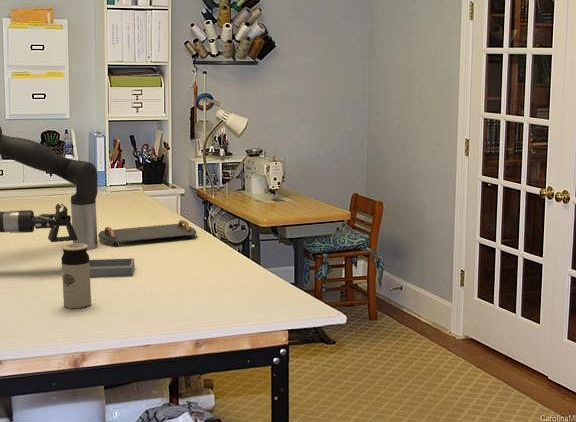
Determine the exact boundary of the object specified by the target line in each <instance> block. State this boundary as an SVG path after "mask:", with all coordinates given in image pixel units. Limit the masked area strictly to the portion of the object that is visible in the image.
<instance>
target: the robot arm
mask: <svg viewBox="0 0 576 422" xmlns="http://www.w3.org/2000/svg"><path fill="white" fill-rule="evenodd" d="M0 156H1V157H2V156H3V157H5V158H8V159H10V160H12V161H14V162H17V163H19V164H22V165H24V166H26V167H30V168H32V169H35V170H38V171H41V172H45V173H50V174H53V175H54V176H57V177H59V178H61V179H64V180H65V181H67V182H68V183H70V184H73V185H76V186H75V187H76V189H75V193H74V194H72V195H71V196H70V210H71V211H70V212H71V215H70V214H69V215H68V217H69V220H70V222H71V224H72V227H73V229H74V231H75V234H76V236H77V238H78V240H74V241H72V244H86V245H87V246H88V247H87V250H93V249H96V248H98V245H99V244H98V222H97V203H96V202H97V201H96V199H97V197H98V196H97V195H98V184H99V183H98V179H99V178H98V170H97V167H96V166H95V164H93V163H92V162H90V161H84V160H78V159H77V160H76V159H72V158H68V157H65V156H62V155H60V154H58V153H57V152H55V151H54V150H53V149H51V148H50V147H48V146H46V145H45V144H42V143H40V142H37V141H34V140H31V139H28V138H23V137H15V136H8V135H5V134H3V130H2V127H1V126H0ZM55 214H56V213H41V214H39V215H38V216H37V215H36V216H35V213H34V211H33V210H25V209H24V210H23V209H22V210H8V211H6V210H5V211H0V233H10V234H13V233H14V234H18V233H19V234H20V233H21V234H23V233H34V231H35V229H36V230H38V229H51V228H54V227H57V226H59V227H66V226H68V219H64V218H63V217H61V219H57V221H56V219H54V217H55Z"/></svg>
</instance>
